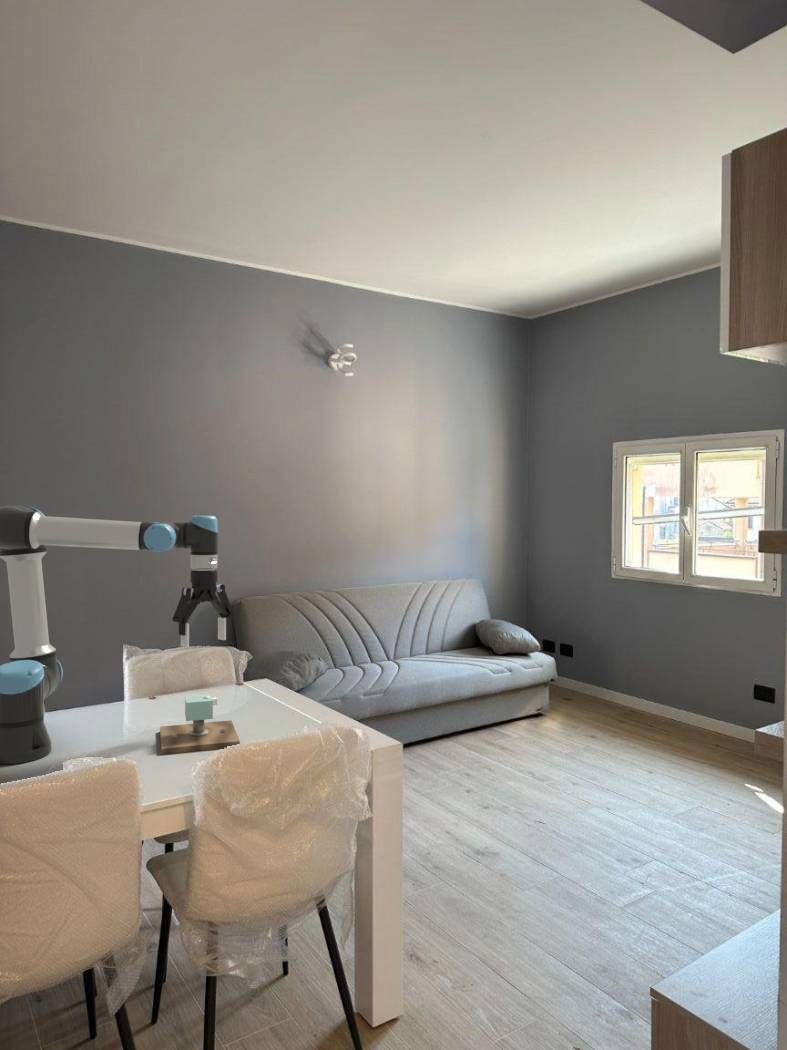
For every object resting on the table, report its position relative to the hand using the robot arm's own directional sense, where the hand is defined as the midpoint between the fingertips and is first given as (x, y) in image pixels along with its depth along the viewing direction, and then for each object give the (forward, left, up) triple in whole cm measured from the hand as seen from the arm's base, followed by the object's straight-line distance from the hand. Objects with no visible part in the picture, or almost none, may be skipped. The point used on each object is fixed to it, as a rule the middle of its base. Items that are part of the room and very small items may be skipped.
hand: (203, 643), depth 209 cm
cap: (-1, -8, -19) cm, 21 cm away
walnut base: (-2, -8, -25) cm, 26 cm away
